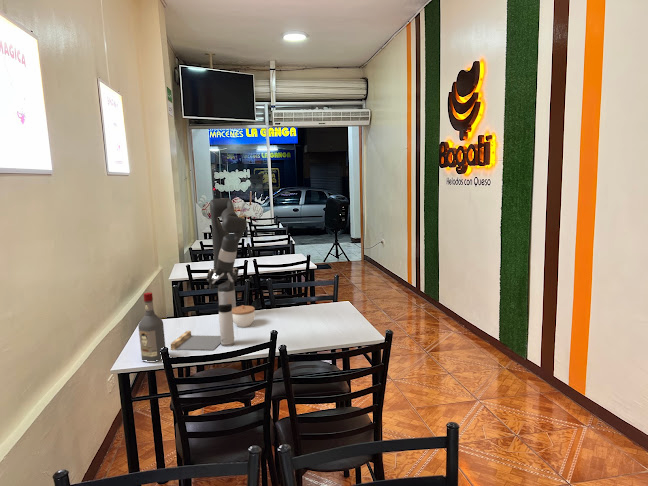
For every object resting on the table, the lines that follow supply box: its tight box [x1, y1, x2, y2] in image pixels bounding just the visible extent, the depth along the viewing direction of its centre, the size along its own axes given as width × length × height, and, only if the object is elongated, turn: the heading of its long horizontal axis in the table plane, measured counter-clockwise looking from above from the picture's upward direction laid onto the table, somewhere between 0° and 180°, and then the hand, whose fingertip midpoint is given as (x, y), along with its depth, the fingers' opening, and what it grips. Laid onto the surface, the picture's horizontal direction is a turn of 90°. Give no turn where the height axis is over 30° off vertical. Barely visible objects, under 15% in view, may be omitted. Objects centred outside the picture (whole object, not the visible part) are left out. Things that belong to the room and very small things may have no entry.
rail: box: [170, 330, 192, 351], centre depth 216 cm, size 18×2×3 cm, turn 172°
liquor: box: [137, 292, 166, 361], centre depth 196 cm, size 9×9×30 cm
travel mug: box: [217, 304, 235, 347], centre depth 211 cm, size 6×7×20 cm
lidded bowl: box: [232, 304, 256, 328], centre depth 239 cm, size 13×13×11 cm
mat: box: [174, 334, 221, 352], centre depth 215 cm, size 18×19×1 cm
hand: (219, 288), depth 204 cm, fingers open, 8 cm apart
